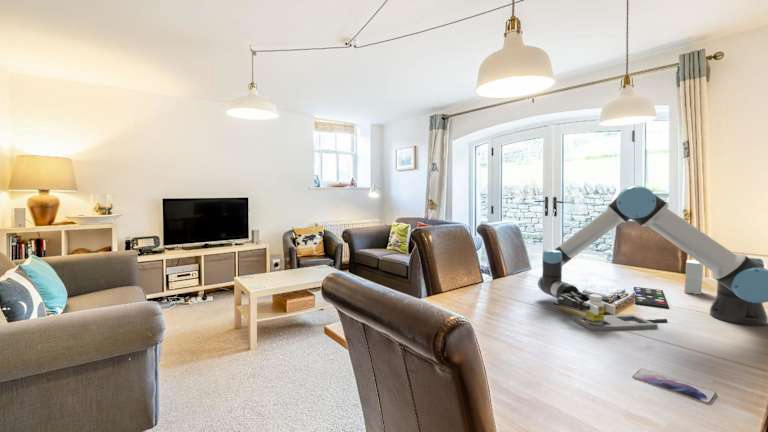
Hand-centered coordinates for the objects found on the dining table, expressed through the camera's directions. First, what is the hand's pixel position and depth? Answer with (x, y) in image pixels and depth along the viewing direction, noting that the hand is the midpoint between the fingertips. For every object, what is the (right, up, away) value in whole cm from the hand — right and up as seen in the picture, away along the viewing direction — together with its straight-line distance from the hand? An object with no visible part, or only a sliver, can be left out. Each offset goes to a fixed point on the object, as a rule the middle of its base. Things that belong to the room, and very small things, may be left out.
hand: (605, 310), depth 120 cm
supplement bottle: (0, -6, +6) cm, 8 cm away
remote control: (+44, -5, +38) cm, 58 cm away
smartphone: (-6, -9, -35) cm, 37 cm away
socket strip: (+11, -6, +7) cm, 14 cm away
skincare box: (+70, -4, +46) cm, 84 cm away
